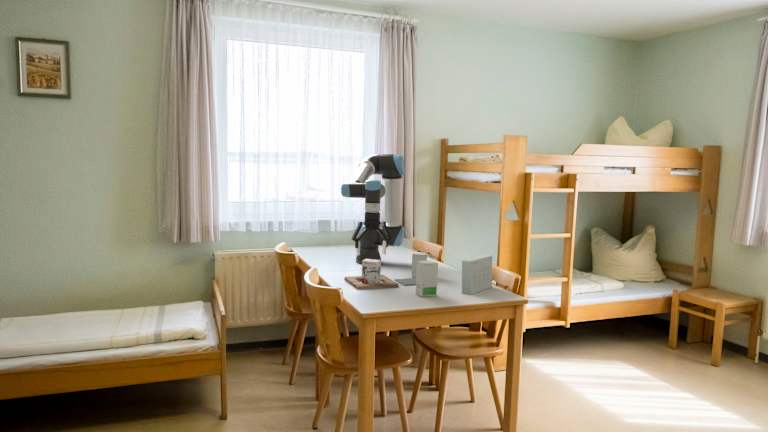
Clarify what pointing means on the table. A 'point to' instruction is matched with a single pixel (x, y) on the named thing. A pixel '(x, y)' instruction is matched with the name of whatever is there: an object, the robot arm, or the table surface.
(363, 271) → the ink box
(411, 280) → the mat
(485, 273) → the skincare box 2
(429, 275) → the skincare box
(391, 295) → the table surface
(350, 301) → the table surface
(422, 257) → the supplement box
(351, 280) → the board
